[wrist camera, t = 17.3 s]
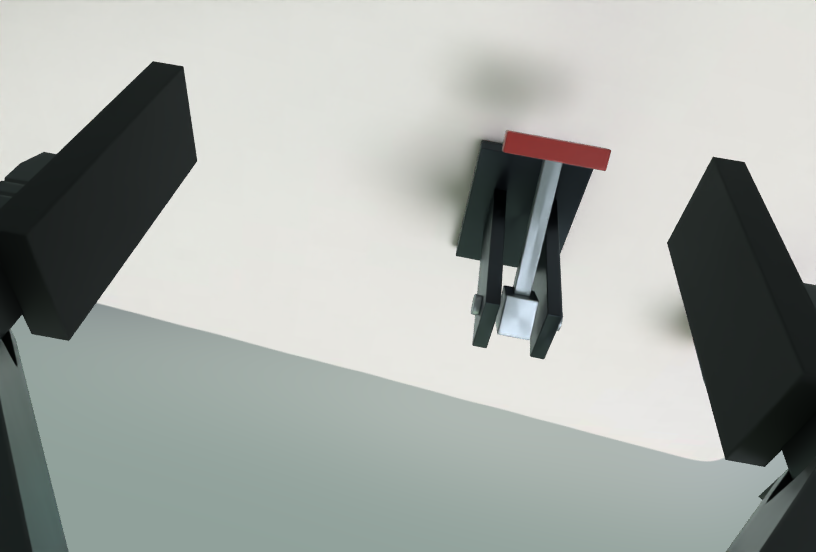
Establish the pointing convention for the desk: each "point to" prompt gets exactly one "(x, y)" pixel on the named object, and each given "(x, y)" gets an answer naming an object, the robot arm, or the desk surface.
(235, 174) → the desk surface
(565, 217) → the bracket
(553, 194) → the lever
